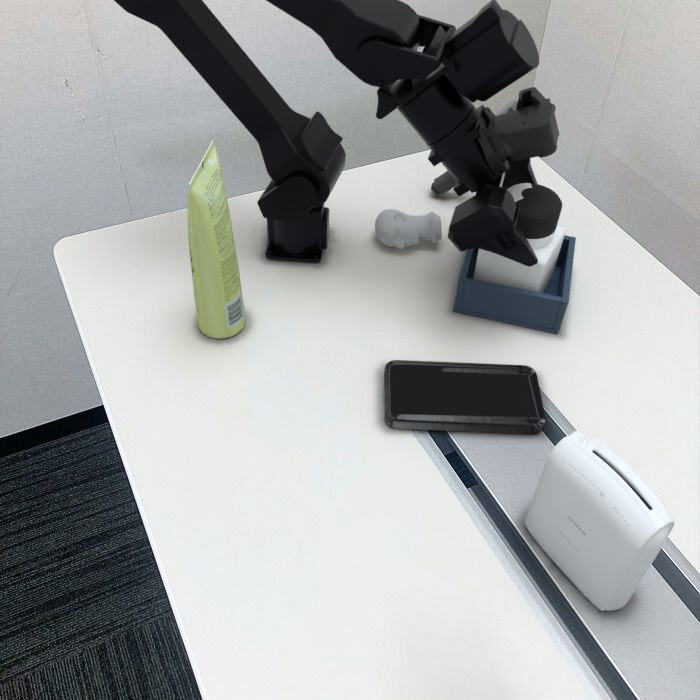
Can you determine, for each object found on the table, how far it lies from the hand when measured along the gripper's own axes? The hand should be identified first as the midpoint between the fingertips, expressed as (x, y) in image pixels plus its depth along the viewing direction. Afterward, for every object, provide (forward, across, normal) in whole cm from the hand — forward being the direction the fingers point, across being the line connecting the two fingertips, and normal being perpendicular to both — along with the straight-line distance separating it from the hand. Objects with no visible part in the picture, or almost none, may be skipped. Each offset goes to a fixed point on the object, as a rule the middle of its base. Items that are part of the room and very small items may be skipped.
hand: (538, 237), depth 79 cm
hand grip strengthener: (0, +16, +11) cm, 20 cm away
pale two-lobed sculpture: (-5, +5, +16) cm, 17 cm away
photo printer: (+11, -32, 0) cm, 34 cm away
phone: (+3, -18, +8) cm, 20 cm away
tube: (-16, -15, +27) cm, 34 cm away
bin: (+4, 0, +6) cm, 8 cm away
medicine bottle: (+4, 0, +6) cm, 8 cm away
